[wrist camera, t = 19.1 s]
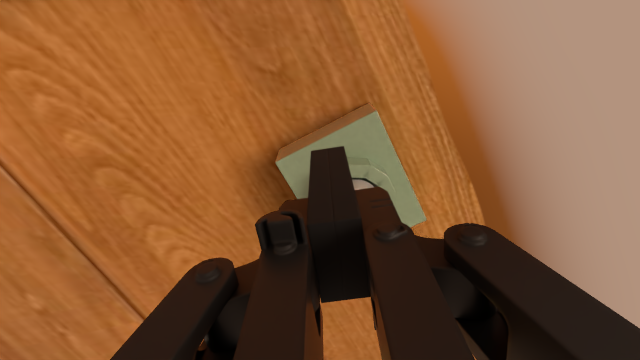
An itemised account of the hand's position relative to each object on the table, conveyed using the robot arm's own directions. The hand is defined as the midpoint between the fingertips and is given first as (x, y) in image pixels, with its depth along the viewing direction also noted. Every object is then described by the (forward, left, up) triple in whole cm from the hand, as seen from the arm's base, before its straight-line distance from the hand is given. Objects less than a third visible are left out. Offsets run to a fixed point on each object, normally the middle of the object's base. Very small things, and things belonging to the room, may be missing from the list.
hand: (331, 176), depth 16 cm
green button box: (-2, +8, -18) cm, 20 cm away
